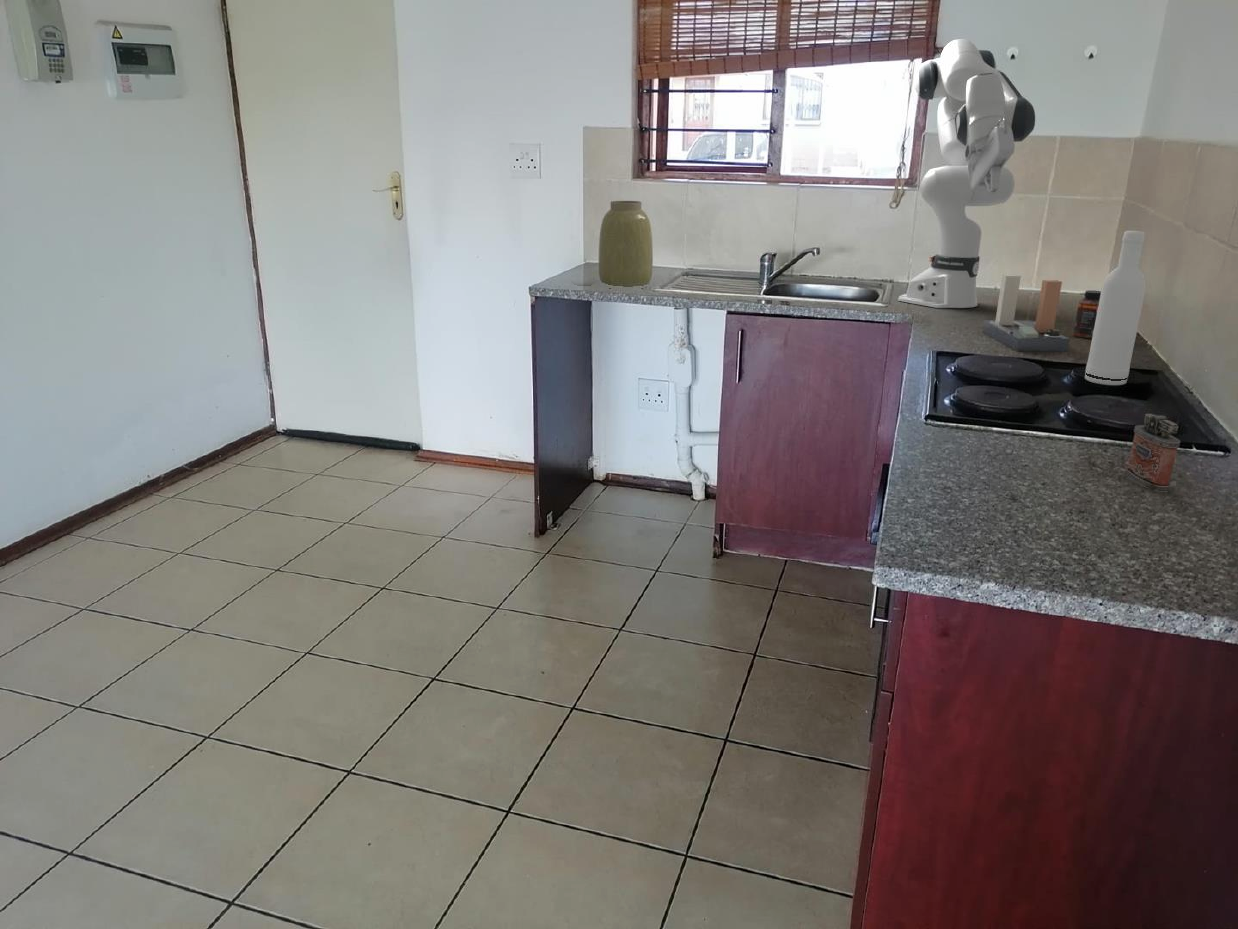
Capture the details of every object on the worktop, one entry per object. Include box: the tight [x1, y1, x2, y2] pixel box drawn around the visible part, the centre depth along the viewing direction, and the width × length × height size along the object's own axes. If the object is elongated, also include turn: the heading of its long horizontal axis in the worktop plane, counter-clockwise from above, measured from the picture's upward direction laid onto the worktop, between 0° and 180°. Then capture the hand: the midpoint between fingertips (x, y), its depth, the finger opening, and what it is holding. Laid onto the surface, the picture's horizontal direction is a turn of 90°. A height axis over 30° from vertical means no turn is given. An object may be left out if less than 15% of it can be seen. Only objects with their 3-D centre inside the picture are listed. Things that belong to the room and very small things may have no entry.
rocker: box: [1018, 327, 1039, 338], centre depth 212 cm, size 4×3×1 cm
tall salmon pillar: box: [1035, 279, 1063, 332], centre depth 215 cm, size 2×4×12 cm
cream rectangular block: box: [994, 274, 1021, 325], centre depth 223 cm, size 2×4×12 cm
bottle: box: [1084, 230, 1147, 386], centre depth 182 cm, size 8×8×30 cm
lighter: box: [1124, 413, 1181, 493], centre depth 132 cm, size 8×3×10 cm, turn 5°
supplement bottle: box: [1073, 289, 1101, 339], centre depth 225 cm, size 6×6×11 cm
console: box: [981, 319, 1070, 352], centre depth 221 cm, size 21×12×4 cm, turn 0°
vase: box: [598, 200, 654, 289], centre depth 286 cm, size 17×17×27 cm
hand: (994, 190), depth 217 cm, fingers closed
